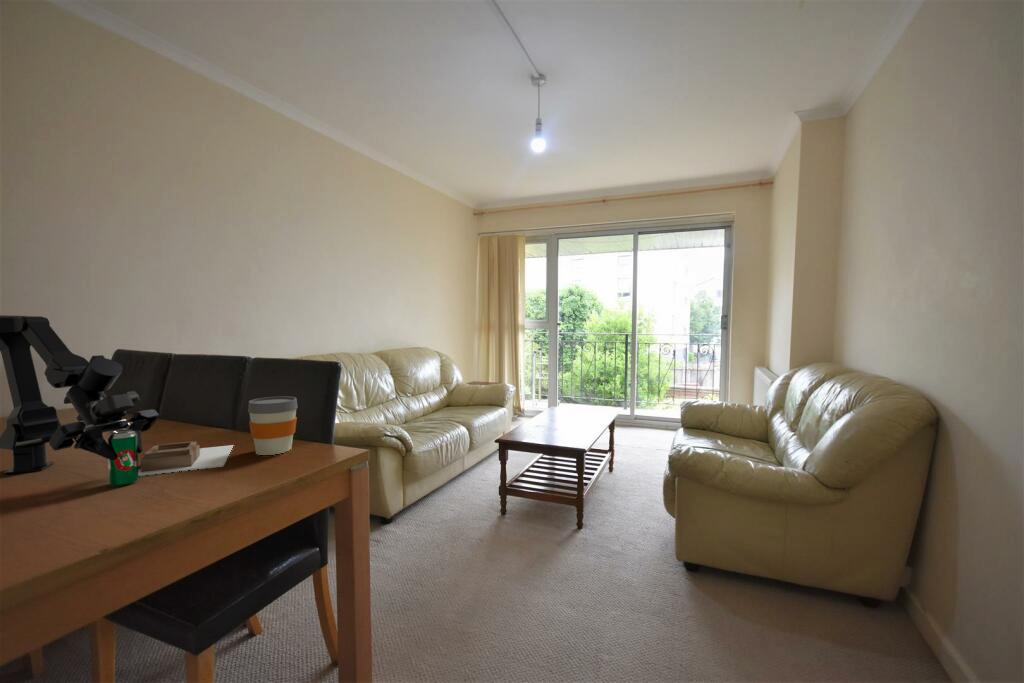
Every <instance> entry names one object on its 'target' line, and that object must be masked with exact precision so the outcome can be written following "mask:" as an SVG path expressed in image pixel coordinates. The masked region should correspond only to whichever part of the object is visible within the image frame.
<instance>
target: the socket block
mask: <svg viewBox="0 0 1024 683" xmlns="http://www.w3.org/2000/svg"><path fill="white" fill-rule="evenodd" d="M200 445H201V444H198V440H195V441H193V440H191V441H184V442H183V441H182V442H181V441H180V442H173V443H172V442H171V443H163V444H162V443H161V444H154V445H153V446H152V447H151V448H150V449H148V450H147V451H146V452H145V453H143V458H141V459H140V468H141V472H144V471H145V472H146V471H155V470H163V469H172V468H181V467H189V466H192V465H193V464H194V462H195V461H196V460H197V458H198V457H199V456H200Z"/></svg>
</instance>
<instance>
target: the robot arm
mask: <svg viewBox="0 0 1024 683" xmlns="http://www.w3.org/2000/svg"><path fill="white" fill-rule="evenodd" d="M31 347H32V348H33V349H34V350H35V352H36V353H37V354H38V356H39V357H40V358H41V360H42V361H43V362H44V363H45V366H46V368H45V370H44V375H45V377H46V381H47V382H48V384H49V385H50V386H51V387H53V388H54V389H63V388H64V389H65V388H69V389H68V391H67V392H66V394H65V397H64V398H63V404H64V405H67V404H72V406H73V407H74V409H75V410H76V413H78V415H77V417H76V420H77V421H76V422H70V423H69V422H68V423H64V424H61V422H60V420H59V418H58V414H57V408H55V407H54V406H53V405H51V406H49V405H47V404H46V403H44V401H43V399H42V393H41V389H40V385H39V381H38V377H37V372H36V368H35V365H34V360H33V355H32V351H31ZM0 353H1V358H2V361H3V367H4V371H5V375H6V380H7V384H8V388H9V392H10V393H9V394H10V396H11V397H10V398H11V401H12V406H13V408H12V410H11V412H10V414H9V415H8V417H7V419H6V428H5V429H4V431H2V434H1V435H0V449H1V450H8V451H11V459H12V460H11V462H12V468H11V469H9V470H6V471H5V472H4V474H5V473H12V474H20V473H31V472H38V471H43V470H44V469H46V468H48V467H50V466H51V465H54V463H55V461H48V458H47V457H48V455H47V454H48V452H47V443H48V444H49V446H50V448H51V449H52V450H53V451H54V452H55V451H59V450H65V449H68V448H72V446H73V445H74V446H73V448H74V449H75V450H77V449H79V450H84V451H87V452H90V453H92V454H96V455H98V456H100V457H102V458H104V459H107V460H108V459H109V460H114V459H115V458H116V456H115V454H114V452H113V451H112V449H111V448H110V446H109V445H108V441H106V440H105V438H104V435H103V434H104V433H111V432H114V431H120V430H135V433H136V434H137V439H138V455H139V454H142V452H143V445H142V444H143V443H142V435H141V434H142V433H145V432H147V431H149V430H150V429H151V428H152V427H153V425H154V424H155V423H156V421H157V420H158V419H159V418H160V415H159V413H158V412H157V410H156V409H154V408H153V409H152V408H151V409H145V410H139V411H136V412H134V414H133V415H132V416H131V418H128V419H123V417H125V416H126V415H127V411H128V410H129V409H131V408H134V407H135V406H136V405H138V404H139V403H141V398H140V395H139V394H138V393H137V391H135V390H133V391H126V392H125V393H123V394H115V395H109V396H107V395H106V394H105V393H104V392H106V391H108V390H110V389H111V388H112V386H113V385H114V384H115V382H116V380H117V379H118V378H119V377H120V375H121V374H122V372H123V370H124V369H123V366H122V364H121V363H119V362H117V361H115V360H114V359H109V358H105V356H104V355H103V354H102V355H100V354H98V355H91V358H90V360H89V361H88V360H87V359H86V358H85V357H83V356H81V355H78V354H75V353H73V352H72V351H71V350H70V348H68V346H67V345H66V344H65V343H64V341H63V340H62V339H61V337H59V335H58V334H57V333H56V331H55V330H54V329H53V327H51V324H50V320H49V319H48V317H44V316H41V315H36V316H35V315H7V314H6V315H5V314H4V315H3V314H2V315H1V314H0Z"/></svg>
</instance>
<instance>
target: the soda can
mask: <svg viewBox="0 0 1024 683" xmlns="http://www.w3.org/2000/svg"><path fill="white" fill-rule="evenodd" d="M106 440H107V441H106V442H107V444H108V445H109V446H110V448H111V449H112V451H113V452H114V454H115V456H116V458H115V459H114V460H109V459H107V468H108V469H107V470H108V484H109V485H110V486H111V487H116V488H118V487H119V488H120V487H126V486H129V485H133V484H135V483H137V481H138V480H139V478H140V477H139V475H138V470H139V454H138V439H137V434H136V433H135V430H122V429H120V430H115V431H110V432H109V436H108V437H107V439H106ZM125 485H126V486H125Z"/></svg>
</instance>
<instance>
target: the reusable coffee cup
mask: <svg viewBox="0 0 1024 683" xmlns="http://www.w3.org/2000/svg"><path fill="white" fill-rule="evenodd" d="M297 409H298V399H297V397H295V396H286V395H285V396H267V397H259V398H254V399H251V400H249V401H248V408H247V412H248V413H249V421H248V424H249V429H250V435H251V438H252V439H253V443H254V450H255V454H256V455H257V454H258V455H257V456H259V455H274V456H276V455H275V454H280V453H284V452H286V451H289V450H290V449H291V450H292V447H293V438H294V434H295V433H296V428H297V421H298V420H297V419H298V417H297V416H296V415H297ZM289 452H290V451H289ZM284 454H285V453H284ZM280 455H281V454H280Z"/></svg>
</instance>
